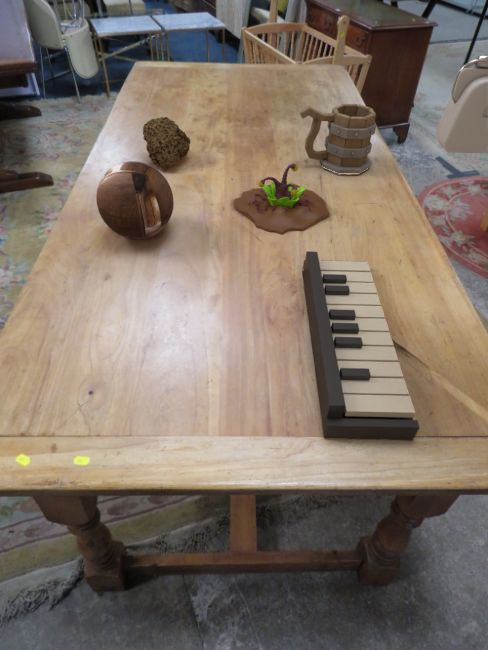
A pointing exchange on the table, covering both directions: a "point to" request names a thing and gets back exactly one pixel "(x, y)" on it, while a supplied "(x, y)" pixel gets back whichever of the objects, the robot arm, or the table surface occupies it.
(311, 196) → the plant
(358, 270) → the low key
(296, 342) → the table surface
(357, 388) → the keyboard
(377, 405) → the white piano key
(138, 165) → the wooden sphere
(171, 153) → the brown porous lump
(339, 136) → the tankard
